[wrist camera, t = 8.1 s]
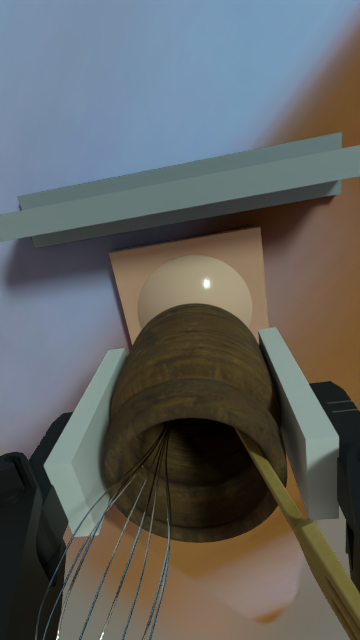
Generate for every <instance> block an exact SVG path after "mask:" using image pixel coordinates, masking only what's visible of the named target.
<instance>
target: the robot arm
mask: <svg viewBox="0 0 360 640" xmlns="http://www.w3.org/2000/svg"><path fill="white" fill-rule="evenodd" d="M258 336H259V347H260V349H261V351H262V353H263V356H264V358H265V361H266V363H267V366H268V368H269V371H270V373H271V376H272V379H273V381H274V384H275V387H276V391H277V394H278V398H279V403H280V410H281V429H280V431H281V434H282V437H283V441H284V445H285V450H286V453H287V456H288V459H289V462H290V465H291V468H292V471H293V474H294V477H295V480H296V483H297V486H298V489H299V492H300V495H301V498H302V500H303V503H304V506H305V509H306V512H307V515H308V518H310V519H312V520H320V519H334V518H339V505H340V507H341V510H342V512H343V514H344V516H345V519H346V553H347V554H348V556H349V566H350V575H351V580H352V582H353V583H354V585H355V586H356V588H357V590H358V591H359V593H360V411H359V410H357V407H356V406H355V404H354V403H353V402H351V399H350V398H349V396H348V395H347V394H346V392H345V391H344V390H343V389H342V388H340V387H339V386H337V385H336V384H334V383H332V382H331V381H328V382H320V383H311V384H308V382H307V380H306V379H305V377H304V375H303V373H302V372H301V370H300V368H299V366H298V365H297V363H296V361H295V359H294V358H293V356H292V354H291V353H290V351H289V349H288V347H287V346H286V344H285V342H284V340H283V339H282V337H281V335H280V333H279V332H278V330H277V328H276V327H274V328H267V329H260V330H258ZM126 359H127V355H126V351H125V348H121V349H114V350H108V352H107V354H106V356H105V357H104V359H103V361H102V363H101V364H100V366H99V368H98V370H97V371H96V373H95V375H94V377H93V379H92V380H91V382H90V384H89V386H88V387H87V389H86V391H85V393H84V395H83V396H82V398H81V400H80V402H79V403H78V405H77V407H76V409H75V411H74V412H71V413H63V414H62V415H61V416H60V417H59V418H58V419H56V420H55V421H54V422H53V423H52V424H51V426H50V428H49V429H48V431H47V432H46V434H45V436H44V437H43V439H42V440H41V442H40V445H38V447H37V448H36V450H35V451H34V453H33V455H32V456H31V458H30V459H29V461H28V459H27V457H26V456H25V455H24V454H23V453H19V452H12V453H6V454H4V455H2V456H0V640H34V636H35V626H36V620H37V615H38V611H39V607H40V604H41V601H42V599H43V596H44V594H45V592H46V589H47V587H48V585H49V583H50V580H51V578H52V576H53V574H54V572H55V570H56V568H57V566H58V564H59V562H60V559H61V557H62V555H63V553H64V551H65V549H66V545H65V542H64V540H63V535H64V532H65V530H66V528H67V525H68V524H69V527H70V529H71V531H72V534H74V532H75V530H76V529H77V527H78V526H79V524H80V522H81V521H82V519H83V518H84V516H85V515H86V513H87V512H88V511H89V509H90V508H91V507H92V506H93V505H94V503H95V502H96V501H97V500H98V499H99V498H100V497H101V496H102V495H103V494H104V493H105V492H106V491H107V488H106V485H105V481H104V475H103V462H104V452H105V445H106V439H107V435H108V432H109V429H110V427H111V420H110V415H111V404H112V398H113V394H114V390H115V387H116V384H117V381H118V379H119V376H120V373H121V371H122V368H123V366H124V364H125V361H126ZM109 498H110V495H109V493H108V492H107V493H106V494H105V495H104V496H103V497H102V498H101V499H100V501H99V502H98V503H97V504H96V505H95V506H94V508H93V509H92V510H91V511H90V512H89V514H88V515H87V517H86V518H85V520H84V521H83V523H82V524H81V526H80V528H79V529H78V531H77V533H76V534H75V536H74V537H81V536H89V534H90V532H91V531H92V529H93V528H94V526H95V525H96V523H97V522H98V520H99V519H100V518H101V516H102V515H103V513H104V511H105V509H106V507H107V505H108V502H109ZM104 516H105V515H104ZM103 519H104V517H103ZM103 519H102V521H101V523H100V525H99V527H98V529H97V531H96V534H95V535H99V533H100V530H101V526H102V523H103ZM96 527H97V526H96ZM95 529H96V528H95ZM95 529H94V531H95ZM94 531H93V532H92V534H91V536H92V535H93V533H94ZM65 561H66V554H65V556H64V558H63V560H62V562H61V564H60V566H59V569H58V571H57V573H56V575H55V577H54V579H53V581H52V584H51V586H50V588H49V590H48V593H47V595H46V598H45V600H44V603H43V606H42V609H41V613H40V617H39V623H38V632H37V640H42V639H43V634H44V630H45V627H46V624H47V622H48V619H49V617H50V614H51V612H52V609H53V607H54V605H55V602H56V600H57V598H58V596H59V594H60V591H61V589H62V587H63V585H64V573H65ZM62 596H63V592H62V594H61V596H60V599H59V601H58V603H57V605H56V608H55V610H54V612H53V615H52V617H51V620H50V622H49V625H48V628H47V632H46V635H45V640H56V634H57V629H58V624H59V620H60V616H61V608H62ZM58 640H59V639H58Z"/></svg>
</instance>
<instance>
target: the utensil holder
mask: <svg viewBox="0 0 360 640" xmlns="http://www.w3.org/2000/svg"><path fill="white" fill-rule="evenodd" d="M110 420H111V427H110V429H109V432H108V435H107V439H106V445H105V452H104V462H103V475H104V481H105V485H106V488H107V491H106V492H105V493H104V494H103V495H102V496H101V497H100V498H99V499H98V500H97V501H96V502H95V503H94V505H93V506H92V507H91V508H90V509H89V511H88V512H87V513H86V515H85V516H84V518H83V519H82V521H81V522H80V524H79V526H78V527H77V529H76V530H75V532H74V534H73V536H72V538H71V540H70V541H69V543H68V545H67V547H66V549H65V551H64V553H63V555H62V557H61V559H60V562H59V564H58V566H57V568H56V570H55V572H54V574H53V576H52V578H51V580H50V583H49V585H48V587H47V589H46V592H45V594H44V596H43V599H42V601H41V604H40V607H39V611H38V615H37V620H36V626H35V636H34V640H37V632H38V623H39V617H40V613H41V609H42V606H43V603H44V600H45V598H46V595H47V593H48V590H49V588H50V586H51V584H52V581H53V579H54V577H55V575H56V573H57V571H58V569H59V566H60V564H61V562H62V560H63V558H64V556H65V554H66V552H67V550H68V548H69V546H70V544H71V542H72V540H73V538H74V536H75V534H76V533H77V531H78V529H79V528H80V526H81V524H82V523H83V521H84V520H85V518H86V517H87V515H88V514H89V512H90V511H91V510H92V509H93V508H94V506H95V505H96V504H97V503H98V502H99V501H100V499H101V498H102V497H103V496H104V495H105V494H106V493H107V492H108V493H109V495H110V497H111V501H110V502H109V504H108V506H107V507H106V509H105V511H104V513H103V515H102V516H101V518H100V519H99V520H98V522H97V523H96V525H95V526H94V528H93V529H92V531H91V532H90V534H89V536H88V537H87V539H86V541H85V542H84V544H83V546H82V548H81V550H80V551H79V553H78V555H77V557H76V559H75V561H74V564H73V565H72V567H71V570H70V572H69V574H68V576H67V578H66V580H65V583H64V585H63V587H62V589H61V591H60V594H59V596H58V598H57V600H56V602H55V605H54V607H53V609H52V612H51V614H50V617H49V619H48V622H47V624H46V627H45V630H44V634H43V639H42V640H45V635H46V632H47V628H48V625H49V622H50V620H51V617H52V615H53V612H54V610H55V608H56V605H57V603H58V601H59V599H60V596H61V594H62V592H63V590H64V587H65V585H66V583H67V581H68V578H69V576H70V574H71V572H72V570H73V568H74V566H75V563H76V561H77V559H78V557H79V555H80V553H81V551H82V550H83V548H84V546H85V544H86V542H87V541H88V539H89V537H90V536H91V534H92V532H93V531H94V529H95V528H96V529H95V531H94V533H93V535H92V537H91V539H90V542H89V544H88V546H87V548H86V551H85V553H84V555H83V557H82V560H81V562H80V565H79V567H78V569H77V571H76V574H75V576H74V578H73V580H72V583H71V586H70V588H69V590H68V593H67V596H66V599H65V602H64V605H63V608H62V612H61V616H60V620H59V624H58V629H57V634H56V640H58V639H59V633H60V628H61V623H62V618H63V614H64V610H65V607H66V603H67V600H68V597H69V595H70V592H71V590H72V587H73V584H74V582H75V579H76V577H77V575H78V572H79V570H80V568H81V565H82V563H83V561H84V558H85V556H86V554H87V552H88V549H89V547H90V545H91V542H92V540H93V538H94V536H95V534H96V531H97V529H98V527H99V525H100V523H101V521H102V519H103V517H104V515H105V514H106V512H107V511H108V510H109V508H110V507H111V506H112V505H113V503H114V504H115V505H116V506H117V508H118V509H119V510H120V511H121V512H122V513H123V514H124V515H125V516H126V517H127V518H128V519H127V522H126V524H125V526H124V528H123V531H122V533H121V536H120V538H119V540H118V542H117V545H116V547H115V549H114V552H113V554H112V557H111V559H110V561H109V564H108V566H107V569H106V571H105V574H104V577H103V579H102V581H101V584H100V586H99V589H98V592H97V594H96V597H95V600H94V602H93V604H92V607H91V610H90V612H89V615H88V618H87V620H86V622H85V625H84V628H83V630H82V633H81V635H80V638H79V640H81V639H82V636H83V633H84V631H85V628H86V626H87V623H88V620H89V618H90V615H91V612H92V610H93V607H94V605H95V602H96V599H97V597H98V594H99V591H100V589H101V586H102V584H103V581H104V579H105V576H106V574H107V571H108V568H109V566H110V564H111V561H112V559H113V556H114V554H115V551H116V549H117V547H118V544H119V542H120V540H121V537H122V535H123V533H124V530H125V528H126V526H127V523H128V521H129V520H131V521H132V522H133V523H135V524H136V525H138V526H139V527H140V528H139V531H138V534H137V537H136V540H135V543H134V545H133V548H132V551H131V554H130V557H129V560H128V563H127V566H126V568H125V571H124V574H123V577H122V580H121V582H120V585H119V589H118V591H117V594H116V597H115V599H114V602H113V605H112V608H111V610H110V613H109V616H108V618H107V621H106V623H105V626H104V628H103V631H102V633H101V635H100V638H99V640H102V637H103V635H104V633H105V630H106V628H107V625H108V623H109V620H110V617H111V615H112V612H113V609H114V607H115V604H116V601H117V598H118V596H119V593H120V589H121V587H122V584H123V581H124V578H125V575H126V573H127V570H128V567H129V564H130V561H131V558H132V555H133V552H134V549H135V546H136V543H137V540H138V537H139V534H140V531H141V528H143V529H145V530H146V531H149V539H148V544H147V550H146V555H145V560H144V565H143V569H142V573H141V577H140V581H139V585H138V588H137V592H136V595H135V599H134V602H133V605H132V609H131V612H130V615H129V618H128V621H127V625H126V628H125V631H124V634H123V637H122V640H124V638H125V634H126V631H127V628H128V624H129V622H130V618H131V615H132V612H133V609H134V605H135V602H136V599H137V595H138V592H139V588H140V584H141V580H142V577H143V573H144V568H145V564H146V559H147V554H148V549H149V543H150V537H151V533H153V534H156V535H158V536H161V537H164V538H168V547H167V552H166V558H165V562H164V566H163V571H162V575H161V578H160V582H159V586H158V589H157V593H156V596H155V600H154V603H153V607H152V610H151V614H150V618H149V621H148V624H147V627H146V630H145V633H144V636H143V638H142V640H145V638H146V634H147V632H148V628H149V625H150V622H151V619H152V616H153V612H154V608H155V605H156V601H157V598H158V594H159V590H160V586H161V583H162V579H163V575H164V571H165V567H166V572H165V577H164V583H163V587H162V592H161V596H160V600H159V604H158V608H157V611H156V615H155V619H154V622H153V626H152V630H151V633H150V637H149V640H151V638H152V633H153V630H154V627H155V623H156V619H157V615H158V612H159V608H160V604H161V600H162V596H163V592H164V587H165V583H166V577H167V571H168V565H169V556H170V539H172V540H176V541H183V542H195V543H203V542H215V541H221V540H226V539H230V538H233V537H236V536H239V535H241V534H244V533H246V532H248V531H250V530H252V529H253V528H255V527H257V526H258V525H259V524H261V523H262V522H263V521H265V520H266V519H267V518H268V517H269V516H270V515H271V514H272V513H273V511H274V510H275V509H276V508H277V506H278V505H279V507H280V509H281V510H282V512H283V514H284V516H285V517H286V519H287V521H288V523H289V524H290V526H291V528H292V530H293V531H294V533H295V535H296V537H297V539H298V541H299V543H300V546H301V548H302V551H303V553H304V555H305V558H306V560H307V562H308V565H309V567H310V569H311V571H312V573H313V575H314V577H315V579H316V581H317V583H318V585H319V586H320V588H321V590H322V592H323V593H324V595H325V597H326V599H327V600H328V602H329V604H330V605H331V607H332V609H333V611H334V612H335V614H336V616H337V618H338V619H339V621H340V623H341V624H342V626H343V628H344V629H345V631H346V633H347V634H348V636H349V638H350V640H360V593H359V591H358V590H357V588H356V586H355V585H354V583H353V582H352V580H351V578H350V577H349V575H348V574H347V572H346V571H345V569H344V567H343V566H342V564H341V562H340V561H339V559H338V558H337V556H336V554H335V553H334V551H333V550H332V548H331V546H330V545H329V543H328V542H327V540H326V539H325V537H324V536H323V534H322V532H321V531H320V529H319V528H318V526H317V525H316V523H315V522H314V521H313V520H312V519H310V518H308V519H306V520H305V519H304V517H303V515H302V514H301V512H300V511H299V509H298V508H297V506H296V504H295V503H294V501H293V500H292V498H291V497H290V495H289V493H288V492H287V490H286V489H285V488H286V483H287V461H286V452H285V445H284V441H283V437H282V434H281V431H280V429H281V410H280V403H279V398H278V394H277V391H276V387H275V384H274V381H273V379H272V376H271V373H270V371H269V368H268V366H267V363H266V361H265V358H264V356H263V353H262V351H261V349H260V347H259V344H258V342H257V341H256V339H255V337H254V335H253V334H252V332H251V331H250V330H249V328H248V327H247V326H246V325H245V324H244V323H243V322H242V321H241V320H240V319H239V318H238V317H236V316H235V315H233V314H232V313H230V312H228V311H226V310H224V309H222V308H220V307H217V306H213V305H209V304H201V303H189V304H182V305H178V306H174V307H172V308H169V309H167V310H165V311H163V312H161V313H159V314H158V315H157V316H155V317H154V318H153V319H151V320H150V321H149V322H148V323H147V324H146V325H145V327H144V328H143V329H142V330H141V332H140V333H139V335H138V336H137V338H136V340H135V342H134V344H133V346H132V348H131V350H130V352H129V354H128V357H127V359H126V361H125V364H124V366H123V368H122V371H121V373H120V376H119V379H118V381H117V384H116V387H115V390H114V394H113V398H112V404H111V415H110ZM112 501H113V502H112ZM96 526H97V527H96ZM166 563H167V566H166Z"/></svg>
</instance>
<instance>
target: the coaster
mask: <svg viewBox="0 0 360 640" xmlns="http://www.w3.org/2000/svg"><path fill="white" fill-rule="evenodd" d="M109 256H110V260H111V264H112V268H113V272H114V275H115V279H116V283H117V287H118V291H119V295H120V299H121V303H122V307H123V311H124V315H125V319H126V323H127V326H128V330H129V334H130V338H131V342H132V346H133V344H134V342H135V340H136V338H137V336H138V335H139V333H140V332H141V330H142V329H143V328H144V327H145V325H146V324H147V323H148V322H149V321H150V320H151V319H153V318H154V317H155V316H157V315H158V314H159V313H161V312H163V311H165V310H167V309H169V308H172V307H174V306H178V305H182V304H189V303H201V304H209V305H213V306H217V307H220V308H222V309H224V310H226V311H228V312H230V313H232V314H233V315H235V316H236V317H238V318H239V319H240V320H241V321H242V322H243V323H244V324H245V325H246V326H247V327H248V328H249V330H250V331H251V332H252V334H253V335H254V337H255V339H256V341H257V342H258V344H259V336H258V330H260V329H267V328H269V326H268V313H267V301H266V288H265V276H264V264H263V251H262V239H261V227H260V226H253V227H247V228H241V229H236V230H230V231H224V232H218V233H212V234H207V235H201V236H195V237H189V238H183V239H178V240H172V241H166V242H160V243H154V244H149V245H143V246H137V247H131V248H126V249H120V250H114V251H111V252H110V253H109Z"/></svg>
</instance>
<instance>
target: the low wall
mask: <svg viewBox="0 0 360 640" xmlns="http://www.w3.org/2000/svg"><path fill="white" fill-rule="evenodd" d="M358 176H360V145H358V146H353V147H348V148H342V132H340V133H335V134H330V135H325V136H320V137H315V138H310V139H305V140H300V141H295V142H290V143H285V144H280V145H274V146H269V147H264V148H259V149H254V150H249V151H244V152H239V153H234V154H229V155H224V156H219V157H214V158H209V159H204V160H199V161H194V162H189V163H184V164H179V165H174V166H169V167H164V168H159V169H154V170H149V171H143V172H138V173H133V174H128V175H123V176H118V177H113V178H108V179H103V180H98V181H93V182H88V183H83V184H78V185H73V186H68V187H63V188H58V189H53V190H48V191H43V192H38V193H33V194H28V195H23V196H18V197H17V198H18V201H19V203H20V206H21V209H22V210H21V211H16V212H11V213H6V214H1V215H0V242H2V241H8V240H13V239H19V238H24V237H30V236H31V239H32V242H33V245H34V248H40V247H46V246H51V245H57V244H63V243H68V242H74V241H79V240H85V239H91V238H96V237H102V236H107V235H113V234H119V233H124V232H130V231H136V230H141V229H147V228H152V227H158V226H164V225H169V224H175V223H180V222H186V221H192V220H197V219H203V218H208V217H214V216H220V215H225V214H231V213H236V212H242V211H248V210H253V209H259V208H265V207H270V206H276V205H281V204H287V203H293V202H298V201H304V200H309V199H315V198H321V197H326V196H332V195H337V194H341V179H347V178H352V177H358Z"/></svg>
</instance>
